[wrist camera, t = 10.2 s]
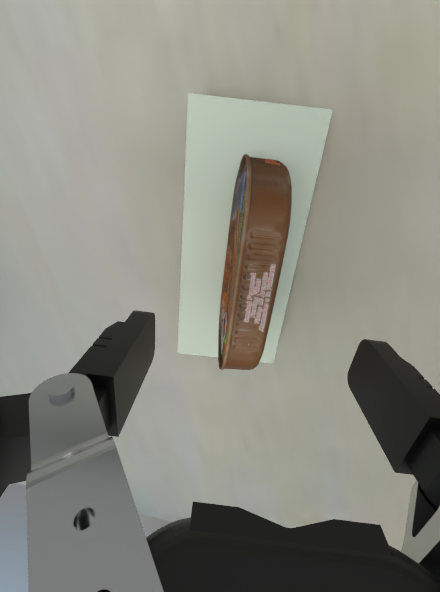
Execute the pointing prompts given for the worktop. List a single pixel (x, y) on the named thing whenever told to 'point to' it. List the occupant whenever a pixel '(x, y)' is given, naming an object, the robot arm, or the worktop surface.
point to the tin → (253, 260)
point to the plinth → (219, 195)
